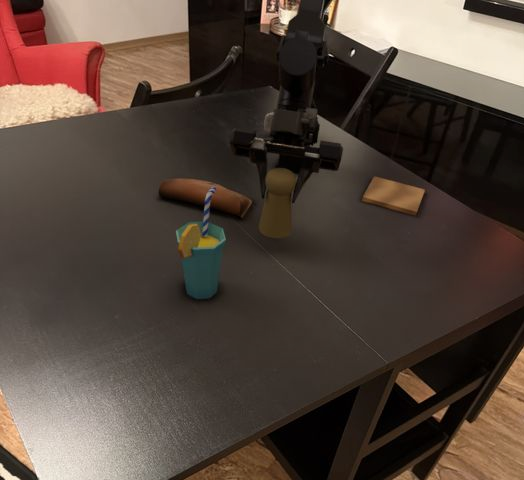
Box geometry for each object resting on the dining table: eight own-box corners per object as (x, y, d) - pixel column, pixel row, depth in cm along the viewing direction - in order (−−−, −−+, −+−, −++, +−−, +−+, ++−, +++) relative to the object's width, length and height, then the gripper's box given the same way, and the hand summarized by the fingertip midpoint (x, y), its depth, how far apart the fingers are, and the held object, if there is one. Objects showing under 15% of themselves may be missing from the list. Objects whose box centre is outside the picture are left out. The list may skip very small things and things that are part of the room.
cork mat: (361, 200, 105) (362, 196, 104) (373, 180, 112) (374, 176, 111) (415, 215, 102) (417, 211, 102) (423, 193, 110) (425, 189, 109)
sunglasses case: (254, 198, 100) (250, 180, 94) (243, 228, 99) (239, 211, 92) (176, 179, 103) (167, 160, 97) (164, 207, 102) (154, 190, 95)
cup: (191, 258, 85) (189, 178, 74) (234, 265, 85) (238, 187, 74) (167, 308, 76) (161, 225, 65) (215, 317, 75) (216, 235, 64)
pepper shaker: (290, 240, 85) (298, 182, 77) (256, 235, 85) (261, 178, 77) (292, 221, 89) (300, 165, 81) (260, 217, 89) (265, 160, 81)
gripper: (234, 74, 73) (217, 175, 74) (354, 91, 72) (336, 194, 73) (241, 108, 84) (226, 196, 85) (345, 124, 84) (330, 213, 84)
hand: (277, 199), depth 81 cm, fingers closed on pepper shaker, 5 cm apart
